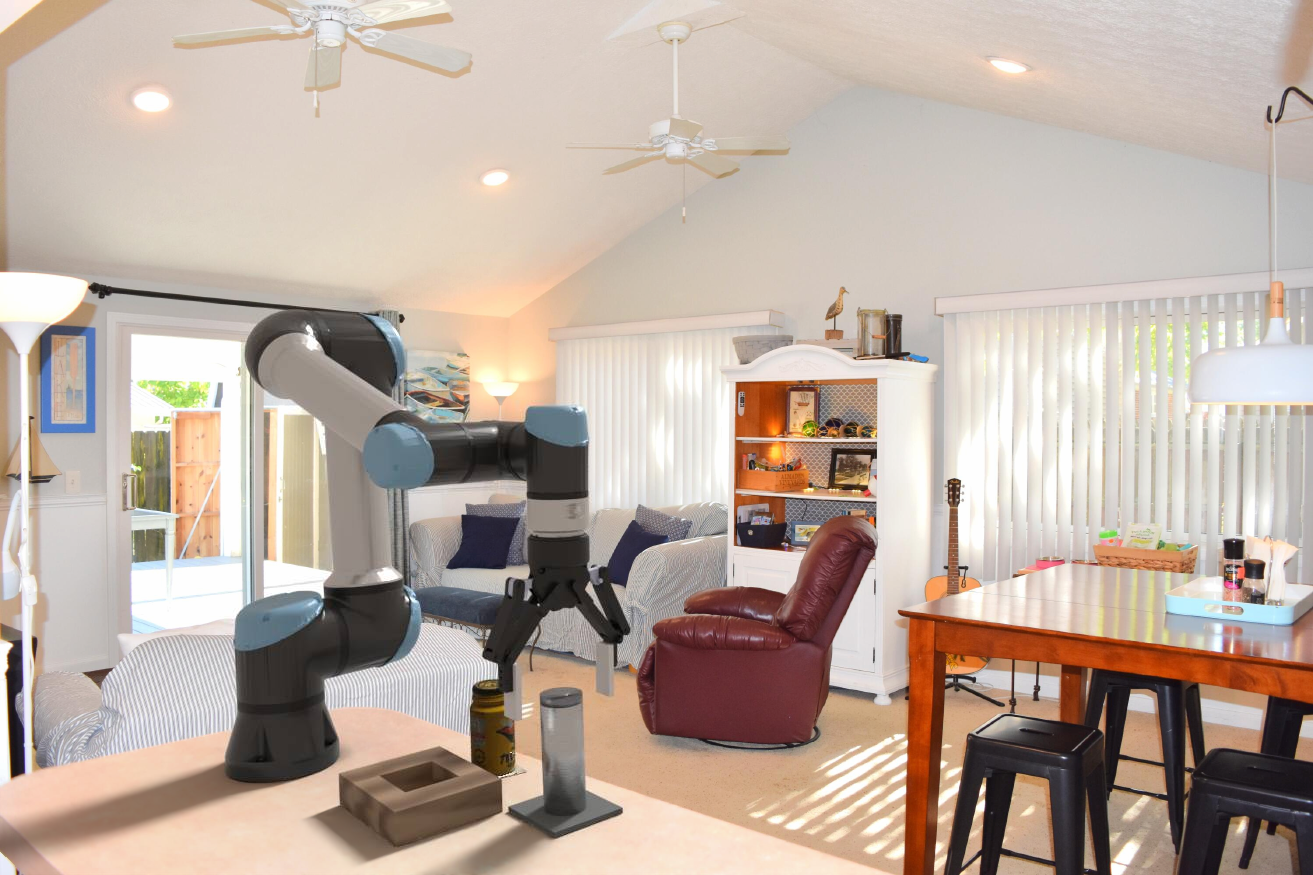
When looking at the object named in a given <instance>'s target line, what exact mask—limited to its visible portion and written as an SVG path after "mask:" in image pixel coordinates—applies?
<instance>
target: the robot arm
mask: <svg viewBox="0 0 1313 875" xmlns="http://www.w3.org/2000/svg"><path fill="white" fill-rule="evenodd" d="M243 355H244V361H245V365H246V366H245V367H246V369H247V371H248V373H249V375H250V376H251V379H253V380H254V382H256V384H258V386H260V387H261V388H262V389H263V390H264V391H266V392H267V393H268V394H270V395H272V396H273V397H274V398H275V397H276V398H278V399H281V400H290V401H292V402H293V403H295V404H296V405H298V406H299V407H300V408H302V409H303V410H304V411H305V412H307V413H309V415H310V416H312V417H314V418H315V419H317V420H318V422H320V423H322V424H323V425H324V438H325V456H326V458H325V459H326V474H327V488H328V490H327V491H328V507H329V509H328V510H329V523H330V524H329V525H330V538H331V540H330V542H331V557H332V558H331V559H332V571H331V574H330V575H329V576H327V578H326V579H325V580H324V582H323V597H322V595H321V594H320V593H319V592H317V591H314V590H313V591H312V590H295V591H292V592H283V593H277V594H272V595H270V596H266V597H263V598H260V599H259V598H258V599H257V600H255V601H253V602H250V603H248V604H246V605H245V606H244V607H242V609H241V610H239V612H238V613H237V615H236V617H235V619H234V633H233V634H234V636H233V641H232V645H233V647H234V664H235V665H234V667H235V688H236V690H235V691H236V717H235V719H234V720H235V721H234V724H233V727H232V731H231V733H230V737H229V741H228V744H227V747H226V751H225V755H224V768H225V770H224V771H225V774H226V775H227V776H229V777H230V778H231V779H234V780H238V781H241V782H251V783H253V782H254V783H257V782H258V783H259V782H260V783H262V782H263V783H264V782H265V783H266V782H277V781H278V782H279V781H285V780H290V779H296V778H300V777H303V776H308V775H310V774H314V773H316V772H319V771H321V770H323V769H324V770H325V768H328V767H330V766H331V765H333V764H334V763H335V762H336V761H337V760H339V757H340V754H341V753H340V752H341V751H340V750H341V749H340V738H339V735H338V732H337V730H336V727H335V725H334V722H333V720H332V717H331V714H330V711H329V710H328V706H327V704H326V693H325V692H326V691H325V690H326V688H325V686H326V684H325V682H326V681H325V680H327V679H331V678H337V677H340V676H343V675H348V674H353V673H356V672H361V671H365V670H369V669H372V668H373V669H374V668H377V669H378V668H382V667H385V666H386V665H389V664H392V663H396V662H399V661H400V660H403V659H405V658H406V657H407V656H408V655H409V654H410V653H411V652H412V650H413V649H414V648H415V646H416V644H417V643H418V639H419V637H420V633H421V629H422V610H421V605H420V601H419V600H417V594H416V593H415V592H414V590H413V589H412V588H410V587H409V586H407V585H405V584H404V578H403V577H404V576H403V574H401V573H400V572H399V571H398V570H396V568H394V567H393V565H392V564H393V563H392V548H391V545H392V544H391V531H390V529H391V528H390V516H389V512H390V511H389V499H388V490H393V489H395V490H396V489H397V490H398V489H399V490H403V491H404V490H405V491H409V490H415V489H418V488H428V487H439V486H445V485H446V486H447V485H448V486H449V485H459V484H461V485H462V484H471V483H472V484H474V483H483V482H485V483H486V482H494V481H514V482H515V481H517V482H518V481H519V482H526V493H525V496H526V528H527V530H528V531H530V532H531V534H530V533H529V535H528V536H527V538H526V545H527V549H526V550H527V565H528V567H529V573H528V574H529V575H528V577H527V578H517V577H511V576H508V577H507V578H506V579H505V583H504V584H505V585H504V597H503V599H502V601H501V604H500V607H499V610H498V611H497V613H496V616H495V620H494V622H493V625H492V628H491V630H490V633H488V637H487V640H486V643H485V645H484V648H483V650H482V654H481V657H482V659H483V660H486V661H489V662H491V663H494V664H496V665H497V679H498V687H499V690H500V691H502V692H504V716H506V717H508V718H510V719H512V720H514V722H520V721H523V700H522V699H523V696H522V693H523V692H522V690H523V689H522V687H523V686H522V682H523V681H522V664H520V663H518V662H516V661H517V660H518V658H519V657H520V655H521V653H522V652H523V650H524V648H525V647H526V645H527V643H528V642H529V641H530V639H531V637H532V636H533V634H534V633H535V631H536V629H537V628H538V625H539V624H540V622H541V621H542V620H543V618H545V617H546V616H548V614H549V612H550V611H551V612H558V611H561V610H563V609H575V608H576V609H577V610H578V611H579V613H580V614H581V615H582V617H584V618H585V620H586V621H587V622H588V624H590V626H591V627H592V628H593V629H594V631H595V632H596V633H597V634H598V636H599V637H600V638H601V639H602V640H597V641H595V671H596V672H595V686H596V688H595V690H596V691H595V692H596V693H598V694H601V695H603V696H605V697H609V698H610V697H614V696H615V678H614V677H615V675H614V674H615V668H616V667H617V665H618V662H619V661H618V660H619V658H618V645H621V644H622V643H624V636H629V635H630V633H631V631H632V630H631V626H630V624H629V622H628V620H627V617H626V615H625V613H624V610H623V608H622V606H621V604H620V601H619V598H618V597H617V595H616V593H615V590H614V588H613V585H612V583H611V582H612V581H611V574H610V568H609V567H608V566H605V565H599V564H592V565H591V566H590V568H588V563H589V562H590V559H591V557H590V555H591V554H590V551H591V550H590V546H591V545H590V543H591V542H590V535H589V534H588V533H587V532H585V531H586V530H587V529H589V527H590V505H589V504H590V501H589V500H590V496H589V492H590V491H589V446H590V445H589V444H590V436H589V429H588V428H589V427H588V417H587V412H586V410H585V408H583V407H582V406H580V405H577V404H576V405H531V406H528V407H527V409H526V411H525V418H524V421H513V420H512V421H510V420H509V421H508V420H506V421H505V420H499V419H497V420H496V419H493V420H491V419H490V420H486V419H485V420H480V421H469V422H467V421H463V422H461V421H460V422H430V421H427V420H425V419H423V418H421V417H420V416H419V415H417V414H416V413H414V412H412V411H410V410H409V409H408V408H406V407H405V406H403V405H402V404H400V403H399V402H397V401H395V400H394V399H393V396H392V395H393V394H392V390H394V389H395V388H397V387H398V386H399V385H400V384H401V383H402V382H403V379H404V376H403V374H405V372H406V367H407V358H406V357H407V355H406V350H405V345H404V342H403V340H402V338H401V335H400V334H399V331H398V330H397V329H396V328H395V327H394V326H393V324H392V323H390V321H388V320H387V319H385V318H383V317H381V316H378V315H369V314H365V313H361V312H342V311H340V312H339V311H324V310H323V311H321V310H306V309H284V310H280V311H277V312H274V313H271V314H269V315H268V316H266V317H264V318H263V319H262V320H260V321H259V322H258V323H257V324H256V325H255V326H254V327H253V329H252V330H251V331H250V333H249V335H248V337H247V340H246V341H245V345H244V354H243ZM589 582H590V584H591V586H592V588H593V590H594V593H595V595H596V597H597V599H598V601H599V604H600V607H601V608H602V610H603V612H604V613H602V611H601V610H600V609H599V608H598V606H597V605H596V604H595V603H594V601H595V600H594V599H593V598H592V597H591V595H590V594H589V593H588V591H587V590H586V588H587V587H588V585H589ZM529 592H530V596H529V598H528V599H527V600H526V603H525V604H524V599H525V597H526V596H528V595H529ZM523 604H524V606H523ZM522 608H523V611H522V613H521V615H520V612H521V609H522ZM519 615H520V616H519Z"/></svg>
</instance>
